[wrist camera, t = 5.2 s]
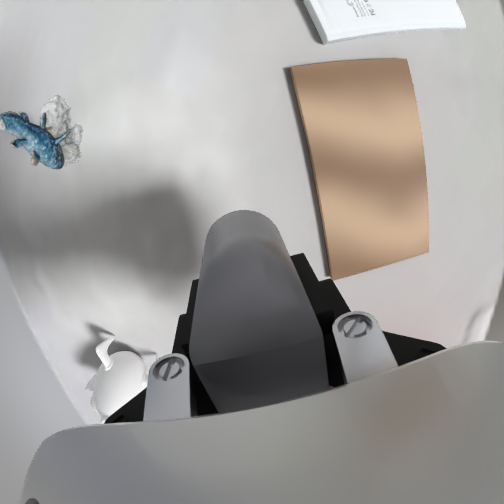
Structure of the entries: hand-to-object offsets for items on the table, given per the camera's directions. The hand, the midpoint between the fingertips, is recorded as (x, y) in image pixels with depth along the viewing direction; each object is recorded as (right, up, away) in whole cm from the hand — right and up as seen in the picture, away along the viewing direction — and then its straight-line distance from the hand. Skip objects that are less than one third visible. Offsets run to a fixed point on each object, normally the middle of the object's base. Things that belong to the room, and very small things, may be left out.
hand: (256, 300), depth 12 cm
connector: (0, 0, +1) cm, 1 cm away
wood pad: (+8, +7, +6) cm, 12 cm away
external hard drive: (+8, +20, +2) cm, 22 cm away
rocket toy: (-10, -7, +11) cm, 16 cm away
